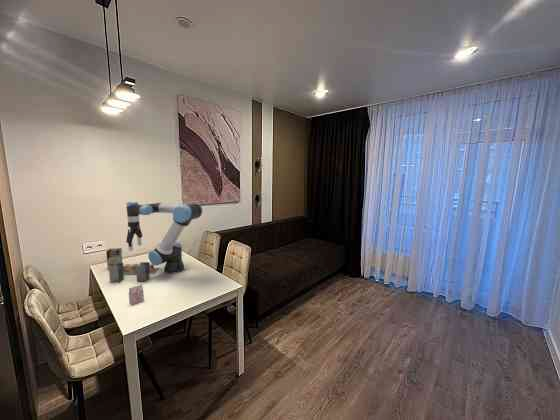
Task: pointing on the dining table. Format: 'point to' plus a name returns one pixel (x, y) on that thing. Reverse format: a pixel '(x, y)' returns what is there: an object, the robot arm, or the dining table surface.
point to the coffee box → (114, 256)
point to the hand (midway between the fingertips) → (135, 247)
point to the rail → (133, 266)
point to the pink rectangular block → (136, 294)
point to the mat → (136, 272)
